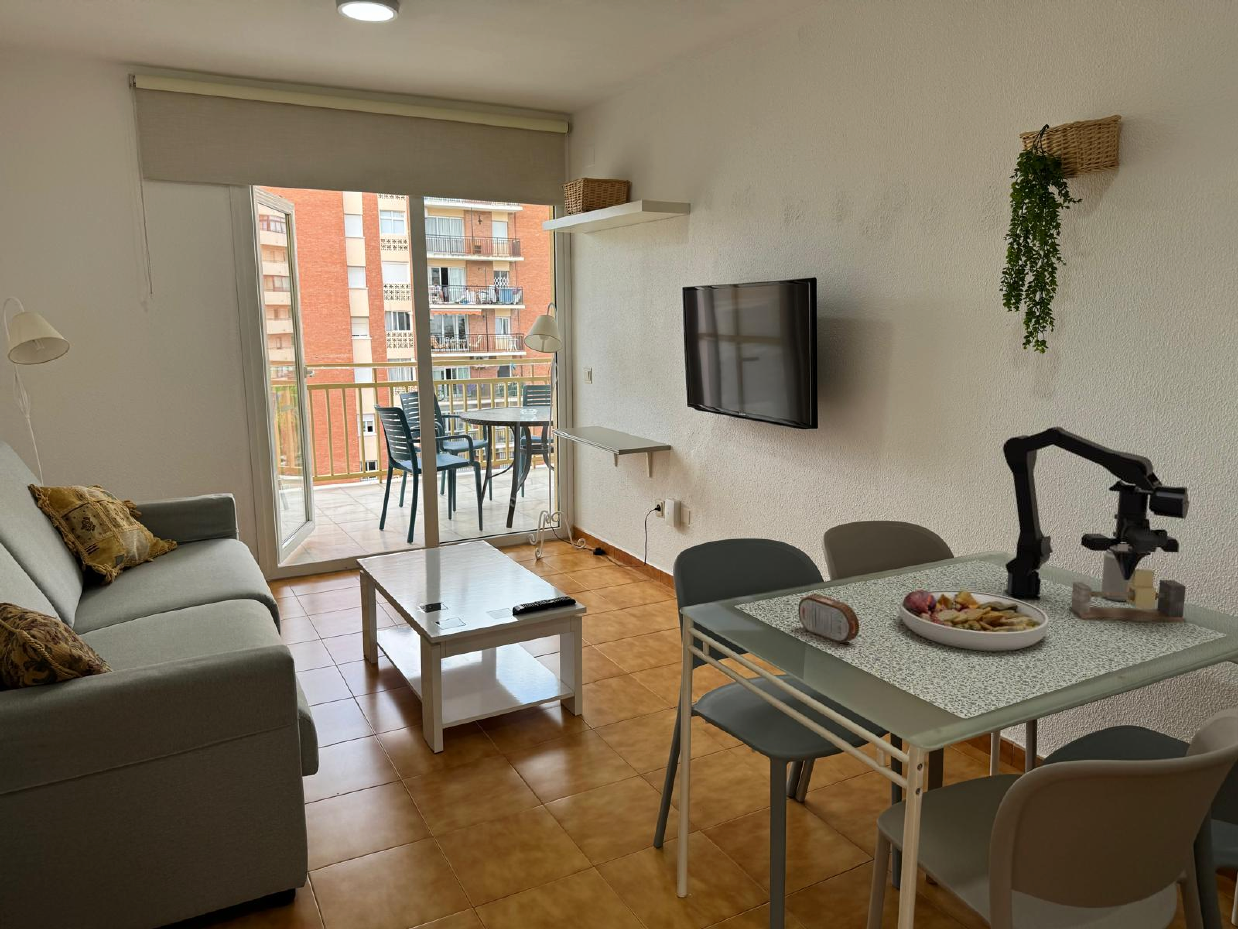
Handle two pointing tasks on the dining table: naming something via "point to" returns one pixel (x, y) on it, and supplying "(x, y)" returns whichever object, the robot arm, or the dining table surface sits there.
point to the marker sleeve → (1142, 589)
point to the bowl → (973, 619)
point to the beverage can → (1113, 577)
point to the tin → (828, 618)
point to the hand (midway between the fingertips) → (1126, 579)
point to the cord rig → (1166, 611)
